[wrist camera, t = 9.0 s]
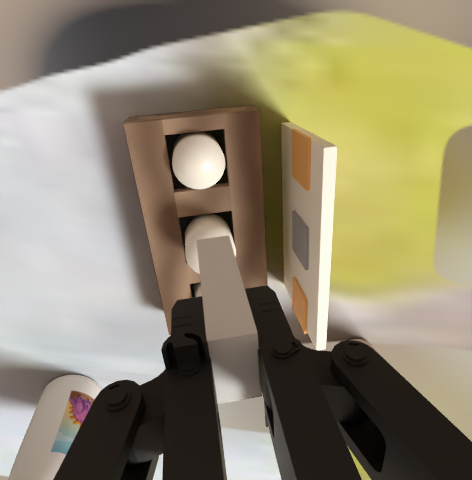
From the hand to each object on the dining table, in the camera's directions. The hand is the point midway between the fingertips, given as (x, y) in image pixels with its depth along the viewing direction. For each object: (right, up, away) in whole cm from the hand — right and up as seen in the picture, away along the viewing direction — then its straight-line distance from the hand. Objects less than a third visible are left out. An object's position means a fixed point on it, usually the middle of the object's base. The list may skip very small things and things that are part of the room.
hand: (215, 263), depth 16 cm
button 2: (-2, +2, +21) cm, 21 cm away
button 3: (-3, +10, +19) cm, 22 cm away
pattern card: (+7, +4, +24) cm, 26 cm away
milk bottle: (-21, -20, +32) cm, 44 cm away
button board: (-2, +3, +23) cm, 24 cm away
